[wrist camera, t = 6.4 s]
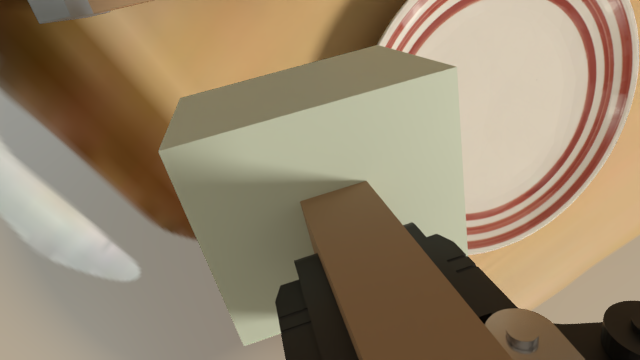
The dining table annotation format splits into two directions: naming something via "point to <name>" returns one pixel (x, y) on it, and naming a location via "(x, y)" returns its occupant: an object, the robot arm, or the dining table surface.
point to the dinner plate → (527, 99)
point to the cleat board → (75, 8)
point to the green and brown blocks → (334, 197)
